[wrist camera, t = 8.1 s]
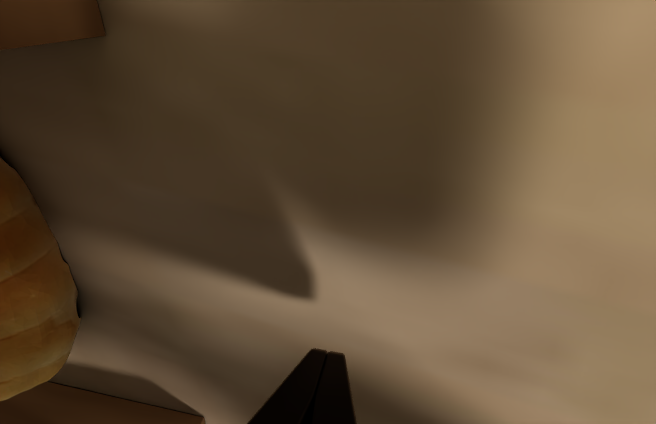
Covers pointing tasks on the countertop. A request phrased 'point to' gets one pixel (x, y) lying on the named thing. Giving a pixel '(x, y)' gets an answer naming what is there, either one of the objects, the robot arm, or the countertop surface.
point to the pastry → (31, 292)
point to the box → (49, 398)
